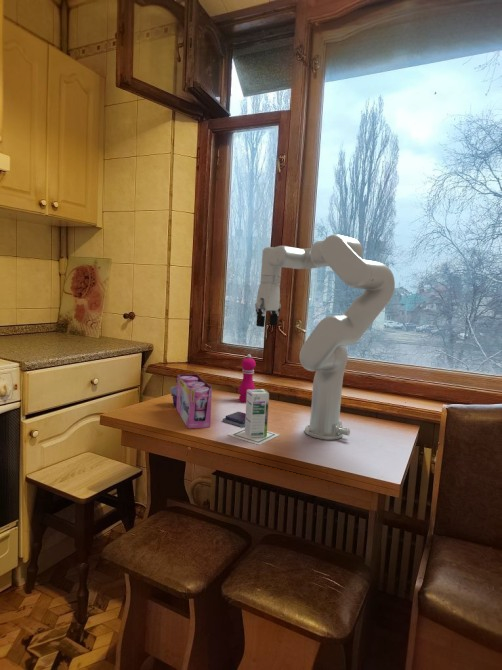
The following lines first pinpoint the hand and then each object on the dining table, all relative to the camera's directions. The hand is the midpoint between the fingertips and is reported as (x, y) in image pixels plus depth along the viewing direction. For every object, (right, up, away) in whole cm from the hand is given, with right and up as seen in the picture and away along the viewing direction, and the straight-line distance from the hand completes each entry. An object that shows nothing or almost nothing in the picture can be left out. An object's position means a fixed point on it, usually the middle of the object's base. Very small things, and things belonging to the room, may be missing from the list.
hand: (267, 325), depth 155 cm
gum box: (-27, -33, -10) cm, 44 cm away
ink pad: (-10, -34, -11) cm, 37 cm away
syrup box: (-5, -36, -24) cm, 43 cm away
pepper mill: (-8, -32, +17) cm, 37 cm away
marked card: (-5, -36, -24) cm, 44 cm away
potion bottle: (-34, -31, +4) cm, 46 cm away
